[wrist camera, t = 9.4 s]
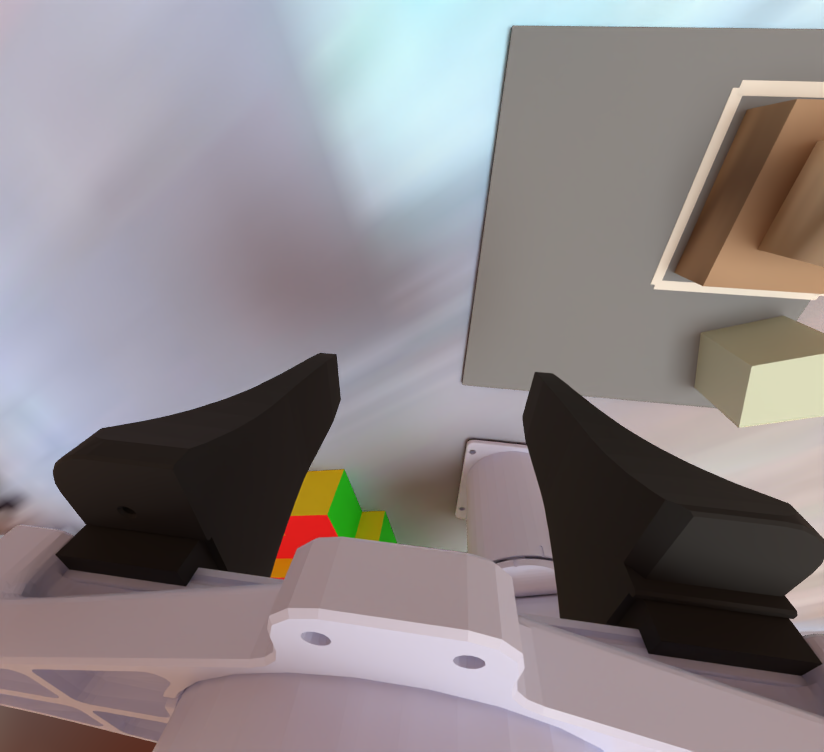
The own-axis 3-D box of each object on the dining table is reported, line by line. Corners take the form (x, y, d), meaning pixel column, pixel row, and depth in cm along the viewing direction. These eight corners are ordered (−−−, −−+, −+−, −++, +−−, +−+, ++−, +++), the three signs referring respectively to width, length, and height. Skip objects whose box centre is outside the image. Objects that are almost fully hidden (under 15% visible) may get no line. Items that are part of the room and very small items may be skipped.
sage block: (769, 374, 21) (831, 414, 17) (694, 387, 22) (738, 427, 18) (783, 315, 19) (856, 347, 15) (700, 332, 20) (751, 366, 16)
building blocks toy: (369, 465, 30) (275, 787, 14) (421, 605, 42) (401, 859, 27) (191, 476, 33) (-38, 741, 18) (287, 602, 46) (201, 823, 30)
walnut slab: (812, 281, 18) (861, 296, 16) (674, 272, 18) (702, 286, 16) (925, 114, 14) (1009, 104, 12) (747, 109, 14) (797, 98, 12)
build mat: (738, 407, 22) (742, 410, 22) (462, 382, 24) (462, 385, 23) (999, 34, 13) (1011, 31, 12) (511, 28, 14) (512, 25, 14)
